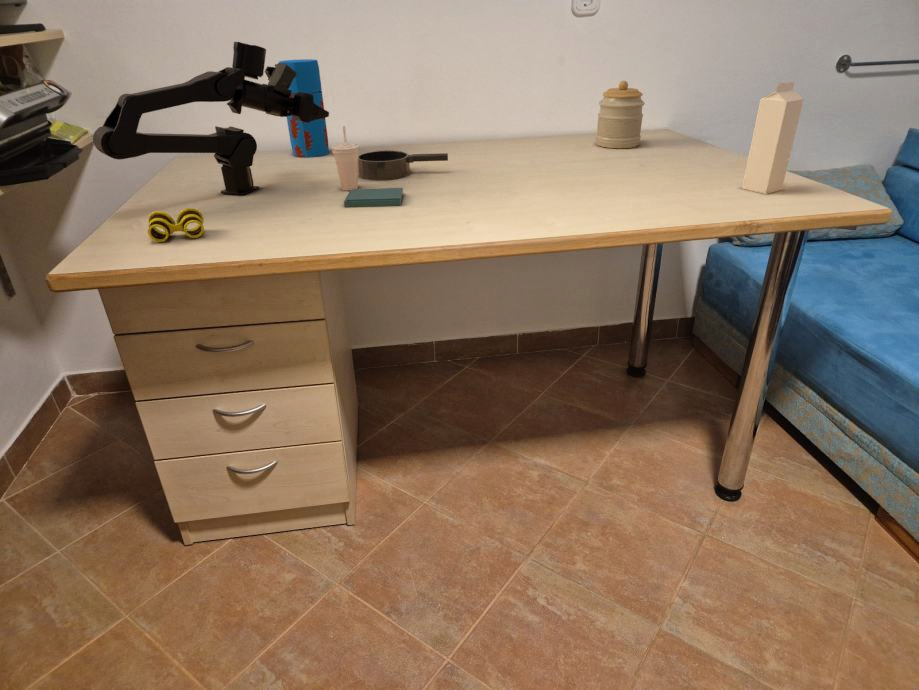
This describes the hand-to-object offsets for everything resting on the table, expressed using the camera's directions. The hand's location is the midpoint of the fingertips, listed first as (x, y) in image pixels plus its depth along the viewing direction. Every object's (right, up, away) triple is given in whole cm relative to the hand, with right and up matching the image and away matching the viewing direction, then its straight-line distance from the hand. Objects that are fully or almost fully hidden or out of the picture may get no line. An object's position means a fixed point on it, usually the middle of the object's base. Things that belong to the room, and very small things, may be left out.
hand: (318, 112), depth 149 cm
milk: (+103, -23, -14) cm, 106 cm away
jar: (+82, +2, +31) cm, 88 cm away
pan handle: (+27, -11, +5) cm, 29 cm away
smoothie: (+9, -21, -6) cm, 23 cm away
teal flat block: (+16, -26, -16) cm, 34 cm away
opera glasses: (-19, -37, -34) cm, 54 cm away
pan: (+16, -13, +6) cm, 21 cm away
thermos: (-9, -1, +30) cm, 31 cm away
